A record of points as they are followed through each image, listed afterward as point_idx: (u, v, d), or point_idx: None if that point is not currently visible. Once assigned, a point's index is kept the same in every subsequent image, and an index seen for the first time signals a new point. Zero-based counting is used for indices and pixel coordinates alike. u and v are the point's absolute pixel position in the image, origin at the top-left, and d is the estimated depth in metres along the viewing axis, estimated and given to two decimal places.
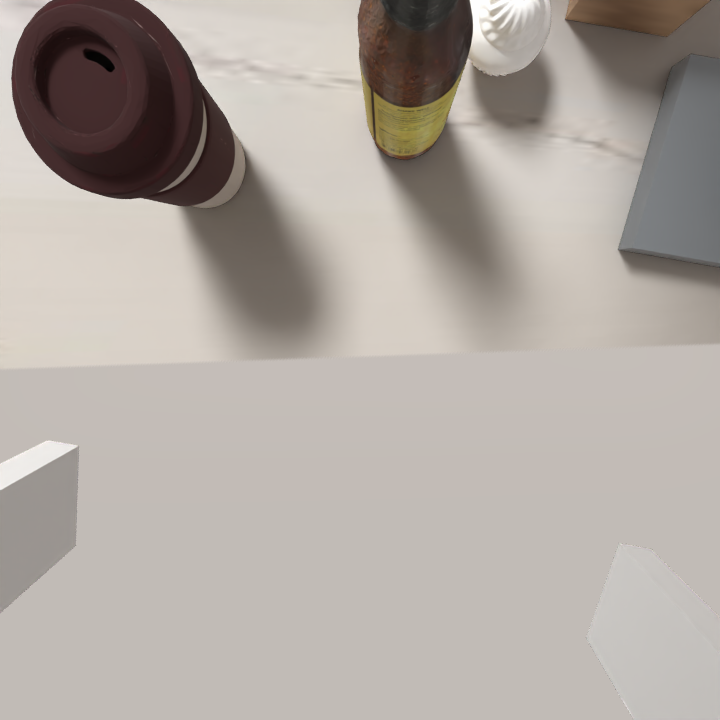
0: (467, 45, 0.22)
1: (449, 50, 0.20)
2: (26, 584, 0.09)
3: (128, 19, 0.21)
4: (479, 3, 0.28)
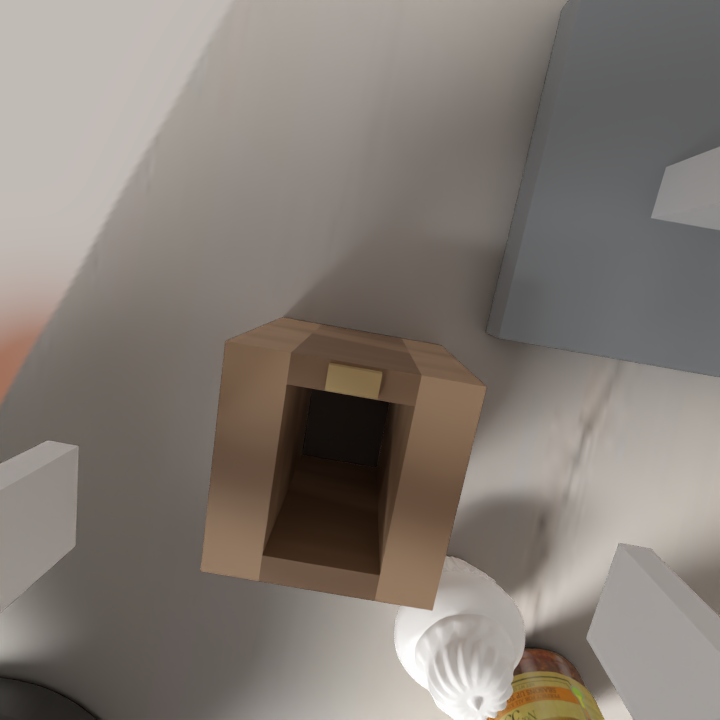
0: None
1: None
2: (27, 584, 0.09)
3: None
4: None
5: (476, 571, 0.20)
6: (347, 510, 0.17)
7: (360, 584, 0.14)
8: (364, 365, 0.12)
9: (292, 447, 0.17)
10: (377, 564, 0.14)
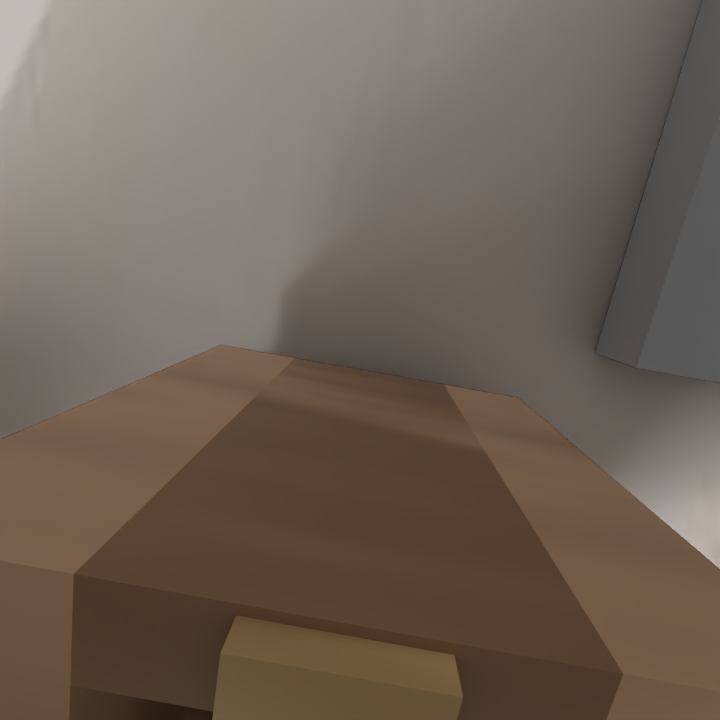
0: None
1: None
2: None
3: None
4: None
5: None
6: None
7: None
8: (380, 627, 0.03)
9: None
10: None
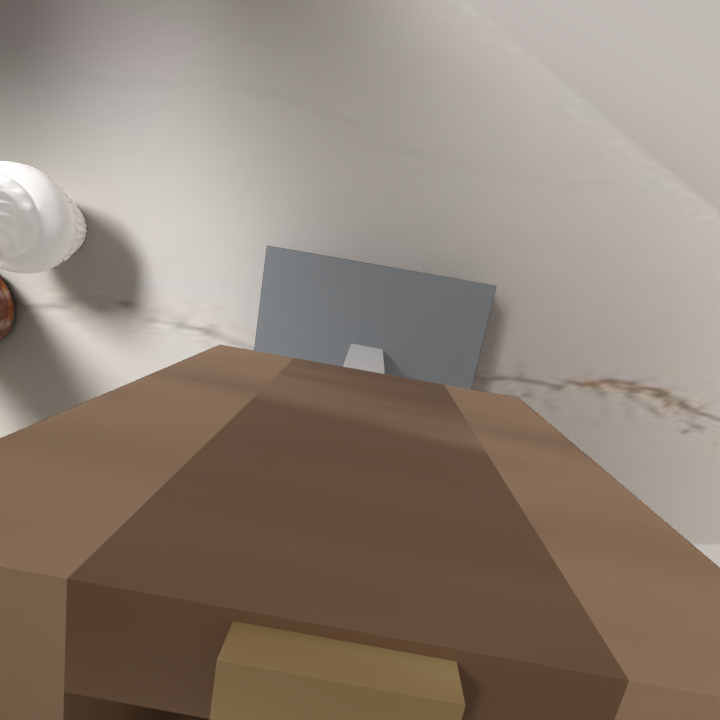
0: None
1: None
2: None
3: None
4: None
5: (76, 238, 0.24)
6: None
7: None
8: (380, 633, 0.03)
9: None
10: None
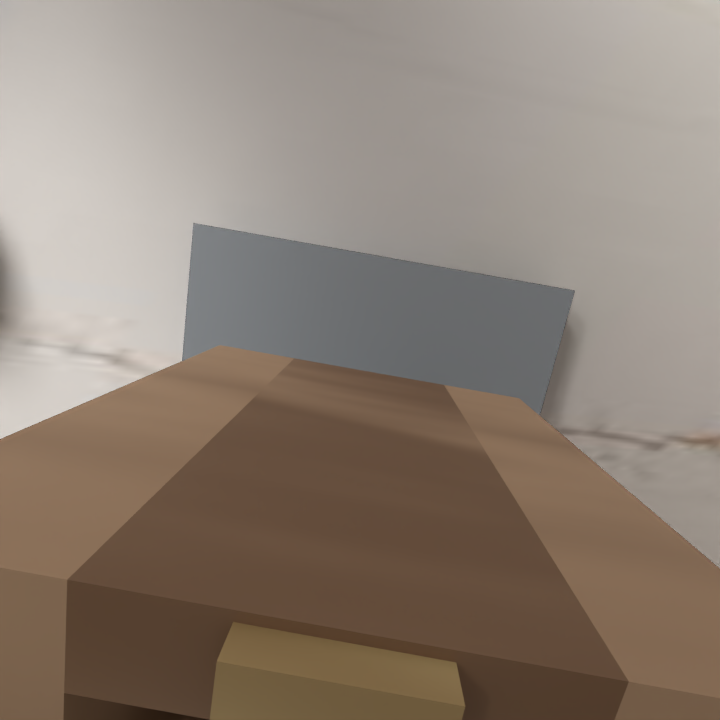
0: None
1: None
2: None
3: None
4: None
5: None
6: None
7: None
8: (381, 634, 0.03)
9: None
10: None
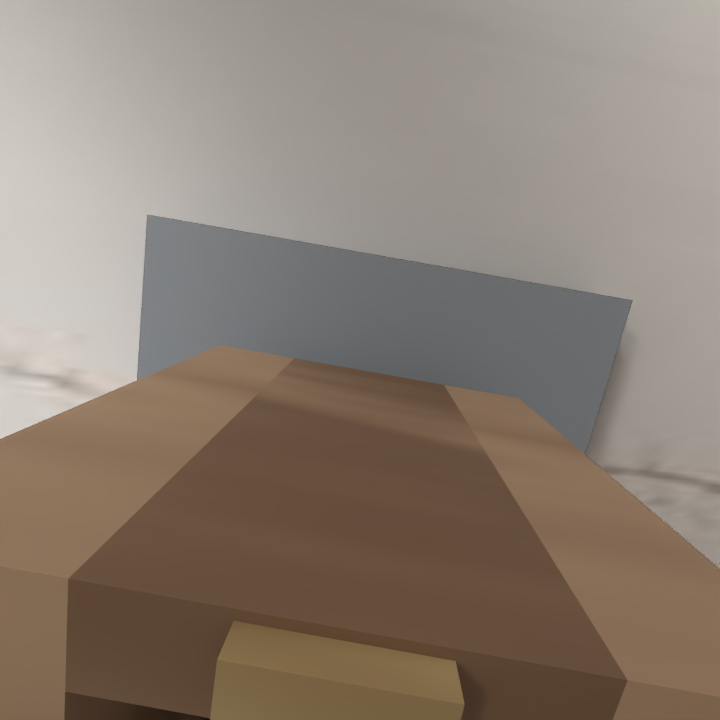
0: None
1: None
2: None
3: None
4: None
5: None
6: None
7: None
8: (380, 632, 0.03)
9: None
10: None
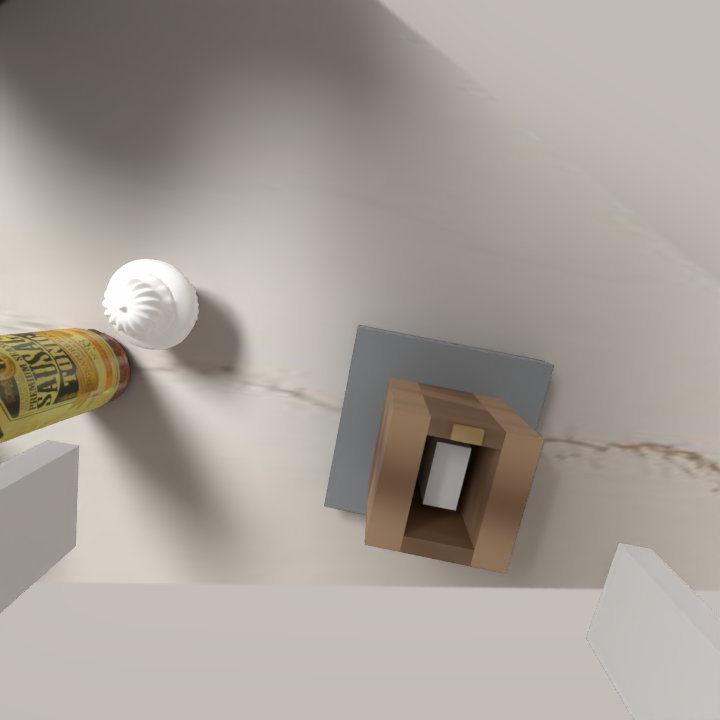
0: None
1: None
2: (27, 584, 0.09)
3: None
4: None
5: (196, 319, 0.29)
6: (441, 511, 0.26)
7: (462, 555, 0.23)
8: (473, 425, 0.21)
9: None
10: (471, 544, 0.23)
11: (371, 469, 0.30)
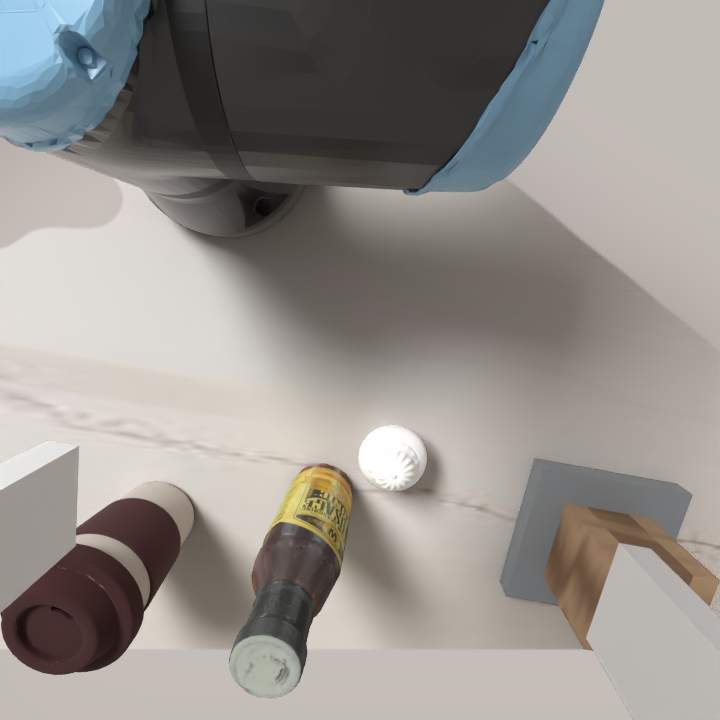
0: (336, 579, 0.29)
1: (314, 615, 0.28)
2: (27, 584, 0.09)
3: (84, 577, 0.28)
4: (368, 455, 0.35)
5: None
6: None
7: None
8: None
9: None
10: None
11: (549, 571, 0.39)
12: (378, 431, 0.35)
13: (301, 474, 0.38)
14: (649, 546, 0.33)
